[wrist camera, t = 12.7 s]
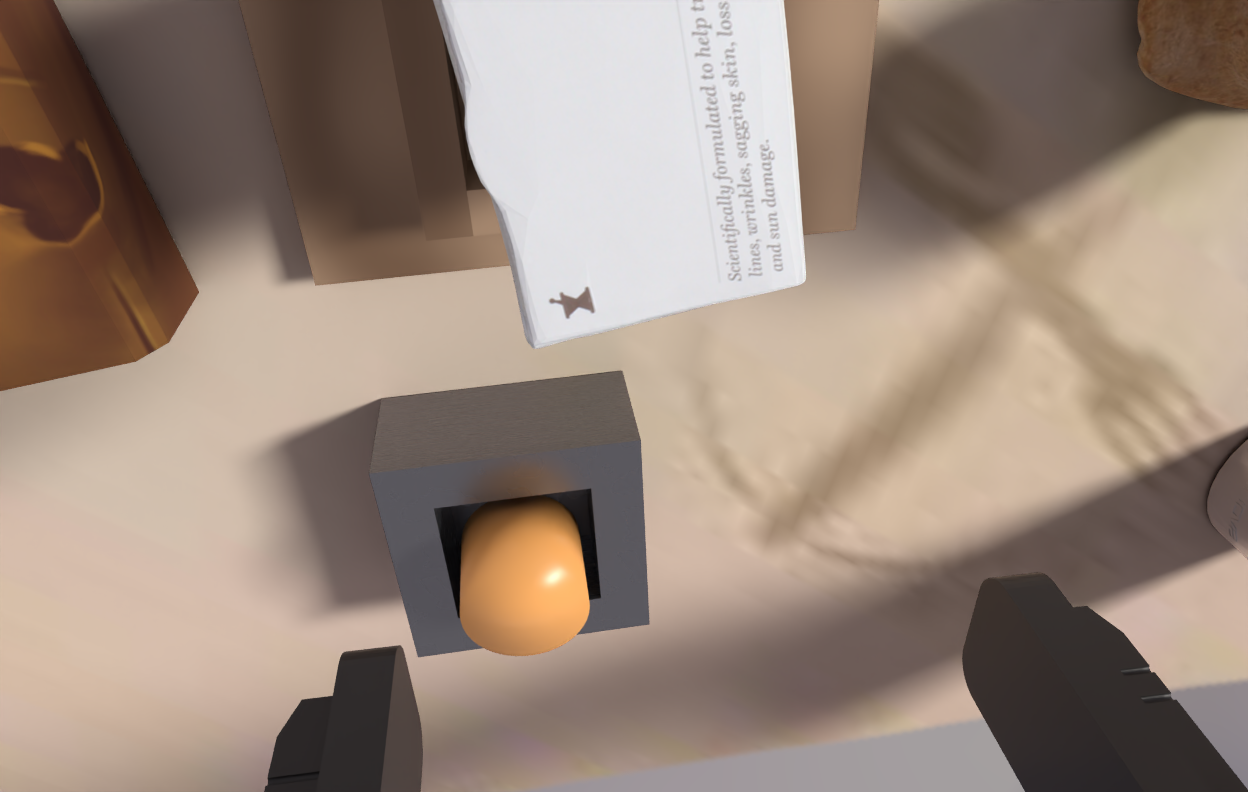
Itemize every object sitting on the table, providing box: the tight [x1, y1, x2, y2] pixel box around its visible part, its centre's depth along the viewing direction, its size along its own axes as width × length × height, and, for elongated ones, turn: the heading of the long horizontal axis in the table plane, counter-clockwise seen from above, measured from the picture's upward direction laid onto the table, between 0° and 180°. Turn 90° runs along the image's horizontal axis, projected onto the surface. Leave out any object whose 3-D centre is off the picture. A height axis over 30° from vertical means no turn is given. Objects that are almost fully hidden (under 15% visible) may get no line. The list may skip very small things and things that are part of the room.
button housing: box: [369, 371, 649, 657], centre depth 37 cm, size 10×10×5 cm
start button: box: [460, 495, 590, 656], centre depth 34 cm, size 5×5×4 cm
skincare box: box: [433, 0, 806, 349], centre depth 21 cm, size 8×6×15 cm
